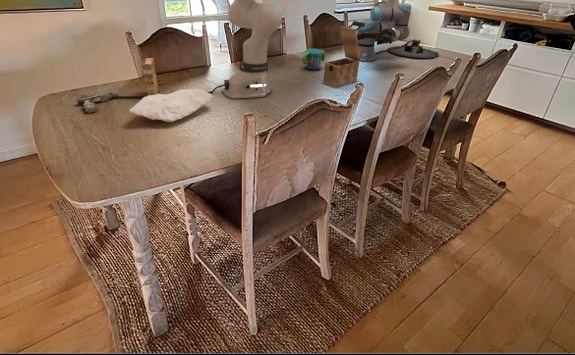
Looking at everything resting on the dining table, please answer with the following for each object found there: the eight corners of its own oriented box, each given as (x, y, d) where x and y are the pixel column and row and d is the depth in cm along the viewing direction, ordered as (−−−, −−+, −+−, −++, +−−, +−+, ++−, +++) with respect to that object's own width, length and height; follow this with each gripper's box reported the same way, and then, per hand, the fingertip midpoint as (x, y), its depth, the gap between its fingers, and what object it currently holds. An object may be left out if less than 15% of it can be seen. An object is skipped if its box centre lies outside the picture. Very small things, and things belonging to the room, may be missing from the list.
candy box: (157, 97, 164) (152, 63, 155) (147, 98, 163) (141, 63, 155) (158, 91, 171) (153, 57, 163) (149, 91, 170) (143, 58, 162)
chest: (336, 87, 185) (338, 66, 179) (322, 82, 191) (324, 62, 185) (356, 81, 195) (359, 61, 189) (343, 77, 200) (345, 57, 195)
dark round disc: (449, 54, 250) (452, 40, 246) (416, 60, 233) (418, 45, 228) (408, 47, 275) (410, 34, 270) (376, 52, 257) (377, 38, 253)
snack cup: (318, 64, 219) (319, 47, 214) (329, 69, 212) (331, 51, 206) (297, 67, 212) (297, 49, 206) (307, 72, 204) (308, 54, 199)
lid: (354, 30, 176) (366, 20, 179) (340, 27, 182) (352, 17, 185) (358, 60, 189) (370, 51, 192) (345, 57, 194) (356, 47, 197)
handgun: (128, 97, 156) (111, 87, 164) (86, 107, 144) (70, 97, 152) (129, 103, 157) (113, 94, 165) (88, 114, 146) (72, 103, 154)
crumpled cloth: (117, 110, 146) (113, 90, 140) (195, 92, 166) (194, 73, 160) (143, 139, 134) (140, 118, 128) (223, 116, 154) (224, 96, 148)
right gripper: (407, 46, 200) (385, 51, 188) (371, 38, 215) (348, 42, 203) (410, 32, 196) (388, 36, 183) (373, 24, 211) (349, 28, 199)
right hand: (366, 39), depth 193 cm, fingers open, 13 cm apart
